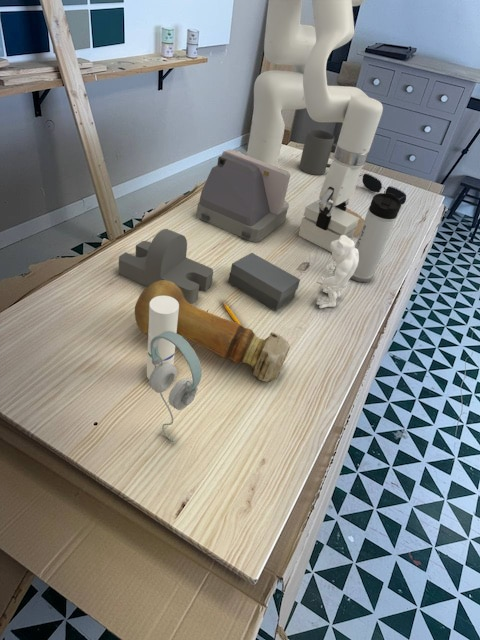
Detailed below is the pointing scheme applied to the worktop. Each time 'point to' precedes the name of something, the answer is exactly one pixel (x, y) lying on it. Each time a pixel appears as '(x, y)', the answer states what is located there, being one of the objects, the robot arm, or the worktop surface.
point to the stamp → (217, 333)
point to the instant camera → (244, 196)
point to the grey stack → (263, 281)
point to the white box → (333, 218)
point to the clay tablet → (360, 222)
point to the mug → (316, 152)
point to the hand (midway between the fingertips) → (329, 222)
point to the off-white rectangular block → (319, 234)
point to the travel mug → (375, 234)
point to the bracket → (166, 265)
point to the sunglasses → (376, 186)
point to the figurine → (339, 269)
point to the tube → (162, 328)
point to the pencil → (231, 313)
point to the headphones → (174, 373)
